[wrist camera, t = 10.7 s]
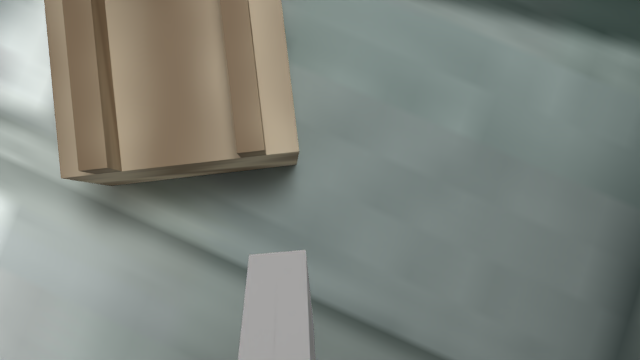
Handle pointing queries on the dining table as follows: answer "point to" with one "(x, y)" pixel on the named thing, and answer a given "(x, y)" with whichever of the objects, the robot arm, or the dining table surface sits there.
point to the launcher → (169, 88)
